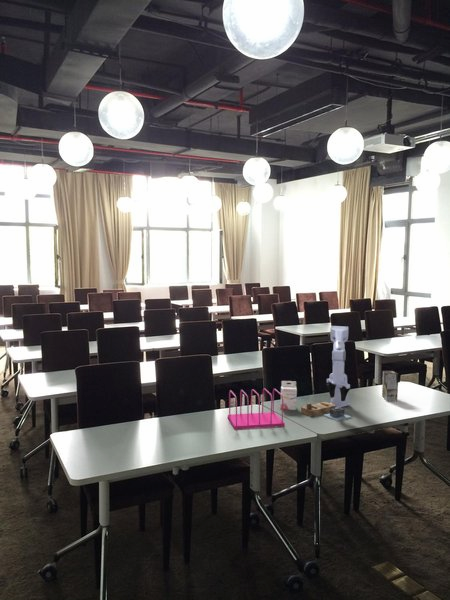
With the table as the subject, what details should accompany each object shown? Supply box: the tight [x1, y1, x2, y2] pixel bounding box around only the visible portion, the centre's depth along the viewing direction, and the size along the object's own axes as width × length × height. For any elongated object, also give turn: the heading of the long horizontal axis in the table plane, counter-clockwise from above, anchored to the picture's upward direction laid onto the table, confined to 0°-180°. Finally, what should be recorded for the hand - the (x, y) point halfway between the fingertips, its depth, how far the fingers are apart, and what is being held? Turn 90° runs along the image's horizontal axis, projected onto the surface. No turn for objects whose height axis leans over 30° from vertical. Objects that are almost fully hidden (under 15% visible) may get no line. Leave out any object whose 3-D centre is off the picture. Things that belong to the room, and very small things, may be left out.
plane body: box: [300, 401, 336, 417], centre depth 267 cm, size 18×8×5 cm, turn 123°
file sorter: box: [227, 387, 285, 430], centre depth 250 cm, size 17×25×16 cm
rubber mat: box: [322, 412, 352, 422], centre depth 259 cm, size 10×10×1 cm
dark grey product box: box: [329, 407, 346, 418], centre depth 258 cm, size 6×4×4 cm
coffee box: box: [381, 370, 399, 403], centre depth 290 cm, size 9×6×16 cm
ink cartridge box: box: [280, 380, 298, 411], centre depth 272 cm, size 9×5×15 cm, turn 84°
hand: (337, 399), depth 258 cm, fingers open, 7 cm apart
